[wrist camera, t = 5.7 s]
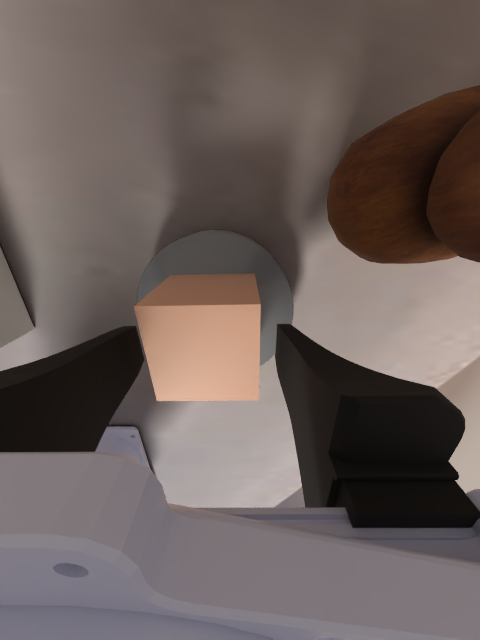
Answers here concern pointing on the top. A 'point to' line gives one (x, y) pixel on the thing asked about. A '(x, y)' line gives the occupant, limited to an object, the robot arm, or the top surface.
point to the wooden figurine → (413, 185)
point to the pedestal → (227, 258)
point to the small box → (11, 307)
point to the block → (202, 337)
